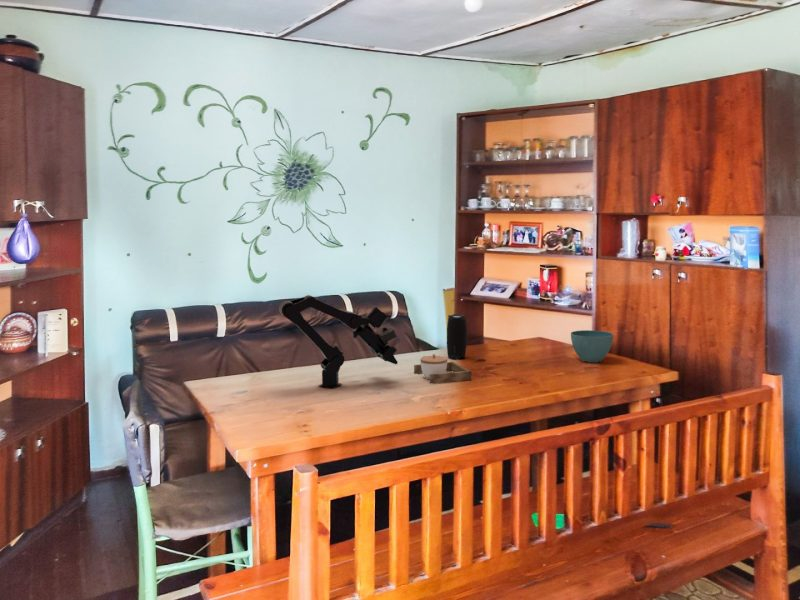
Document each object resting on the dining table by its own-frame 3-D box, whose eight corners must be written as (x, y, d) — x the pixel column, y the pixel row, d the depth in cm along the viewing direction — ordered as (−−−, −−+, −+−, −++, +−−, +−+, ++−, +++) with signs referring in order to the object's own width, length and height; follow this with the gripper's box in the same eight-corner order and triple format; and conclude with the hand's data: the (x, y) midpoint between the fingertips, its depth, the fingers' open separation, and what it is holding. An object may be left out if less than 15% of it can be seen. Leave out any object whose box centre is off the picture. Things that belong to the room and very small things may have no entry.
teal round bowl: (561, 358, 322) (562, 331, 321) (593, 355, 330) (594, 328, 329) (588, 366, 306) (589, 338, 305) (621, 362, 314) (622, 335, 312)
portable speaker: (453, 355, 330) (454, 313, 327) (470, 357, 324) (471, 315, 322) (442, 358, 323) (442, 315, 321) (459, 360, 317) (460, 317, 315)
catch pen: (430, 383, 277) (430, 374, 276) (414, 373, 294) (414, 365, 293) (471, 380, 282) (471, 371, 282) (452, 370, 299) (452, 362, 299)
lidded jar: (448, 374, 291) (448, 352, 290) (446, 381, 281) (446, 357, 280) (421, 374, 293) (421, 351, 292) (418, 380, 282) (419, 356, 281)
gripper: (391, 325, 268) (419, 352, 273) (376, 318, 286) (402, 344, 291) (371, 347, 267) (399, 374, 272) (357, 338, 284) (384, 364, 289)
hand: (396, 363), depth 281 cm, fingers closed
